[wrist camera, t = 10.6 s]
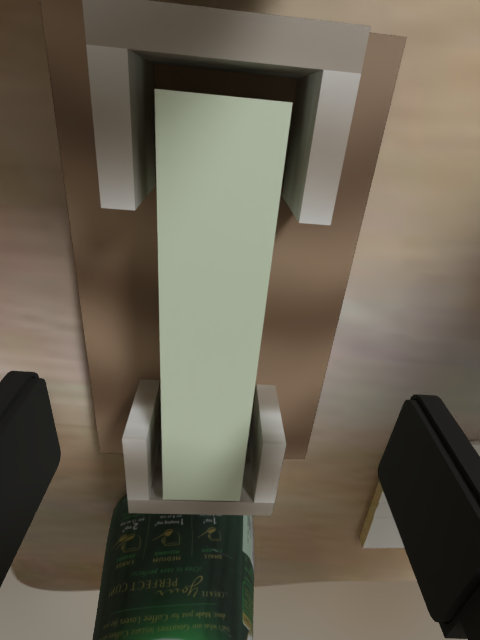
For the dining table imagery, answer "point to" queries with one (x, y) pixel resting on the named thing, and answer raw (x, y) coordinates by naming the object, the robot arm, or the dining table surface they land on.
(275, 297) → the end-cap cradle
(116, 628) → the coffee jar
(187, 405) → the pale green long block
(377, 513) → the baseboard molding
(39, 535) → the dining table surface
